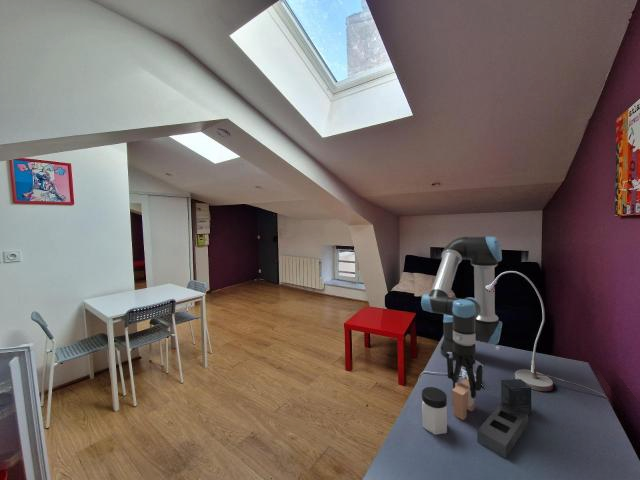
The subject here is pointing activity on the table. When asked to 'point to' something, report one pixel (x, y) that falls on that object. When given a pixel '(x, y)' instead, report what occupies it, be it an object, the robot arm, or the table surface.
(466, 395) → the orange tan block
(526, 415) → the grey slotted block
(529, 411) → the box
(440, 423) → the jar
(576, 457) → the table surface
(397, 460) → the table surface
